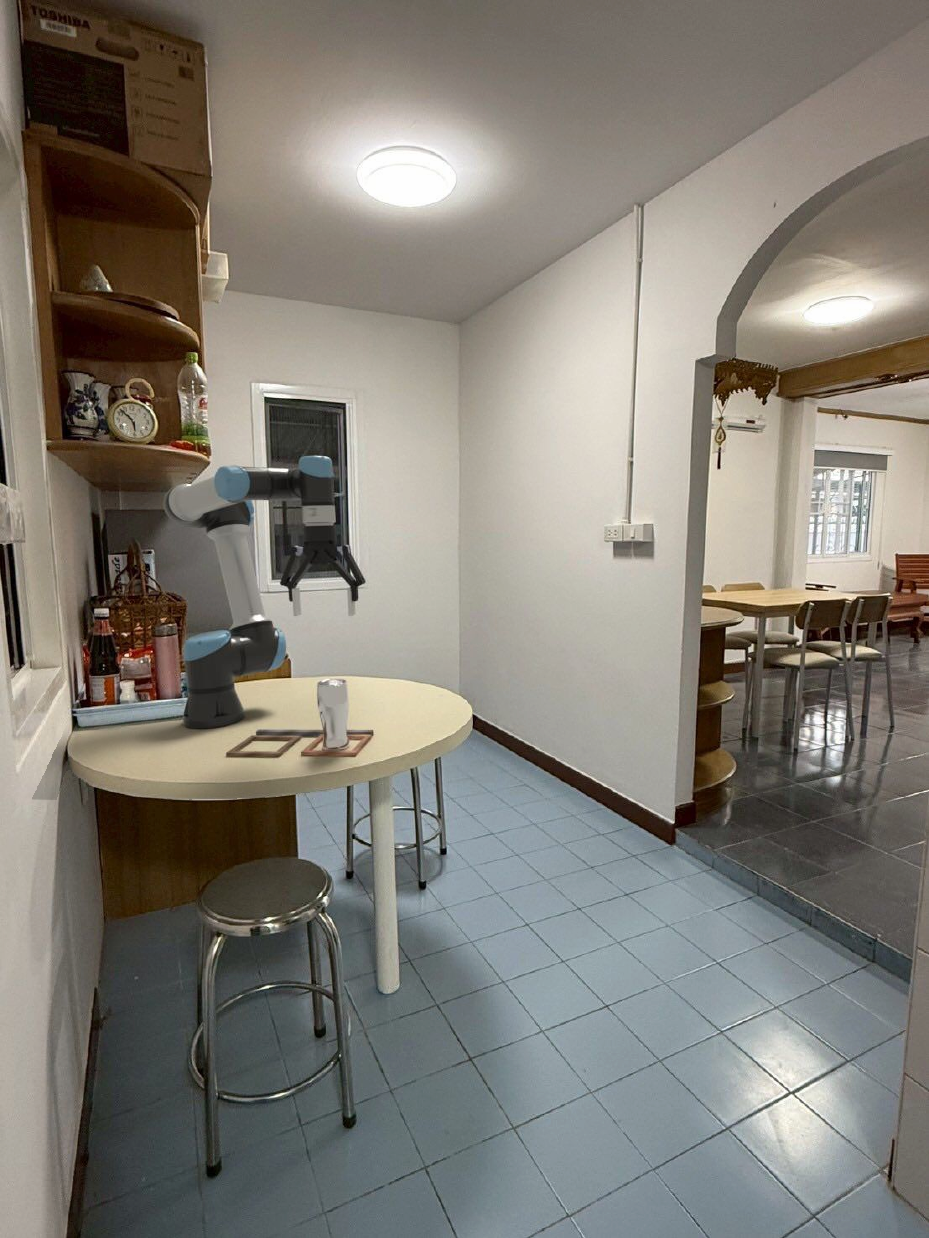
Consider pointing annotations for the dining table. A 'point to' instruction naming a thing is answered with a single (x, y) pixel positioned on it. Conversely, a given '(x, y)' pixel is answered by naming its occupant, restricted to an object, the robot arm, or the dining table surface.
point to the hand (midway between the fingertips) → (324, 615)
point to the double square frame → (296, 736)
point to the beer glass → (333, 713)
